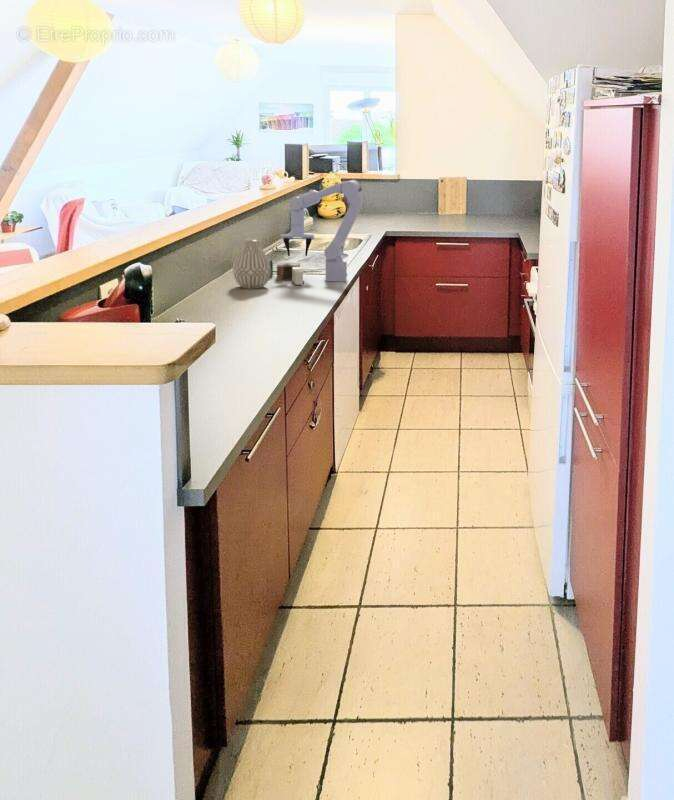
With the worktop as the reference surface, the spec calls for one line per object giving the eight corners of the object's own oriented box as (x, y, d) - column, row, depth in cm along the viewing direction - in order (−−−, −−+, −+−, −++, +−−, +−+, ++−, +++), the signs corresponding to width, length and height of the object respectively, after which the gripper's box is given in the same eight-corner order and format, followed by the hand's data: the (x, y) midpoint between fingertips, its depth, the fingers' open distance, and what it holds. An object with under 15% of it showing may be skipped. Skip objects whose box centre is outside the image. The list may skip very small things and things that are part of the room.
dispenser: (299, 277, 442) (299, 261, 440) (299, 280, 434) (299, 264, 432) (277, 276, 441) (277, 261, 439) (276, 279, 434) (276, 264, 432)
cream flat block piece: (298, 279, 432) (299, 267, 430) (302, 284, 421) (302, 271, 419) (292, 279, 431) (292, 267, 430) (295, 284, 420) (295, 271, 419)
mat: (304, 281, 430) (304, 280, 430) (304, 284, 424) (304, 283, 424) (292, 281, 429) (292, 280, 429) (292, 284, 424) (292, 283, 424)
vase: (256, 292, 405) (255, 243, 399) (225, 288, 413) (224, 240, 407) (278, 286, 418) (278, 239, 412) (247, 282, 426) (247, 236, 420)
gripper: (313, 223, 437) (313, 254, 441) (281, 223, 436) (281, 254, 440) (314, 225, 430) (313, 256, 434) (280, 225, 430) (280, 256, 434)
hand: (297, 255), depth 437 cm, fingers open, 7 cm apart
